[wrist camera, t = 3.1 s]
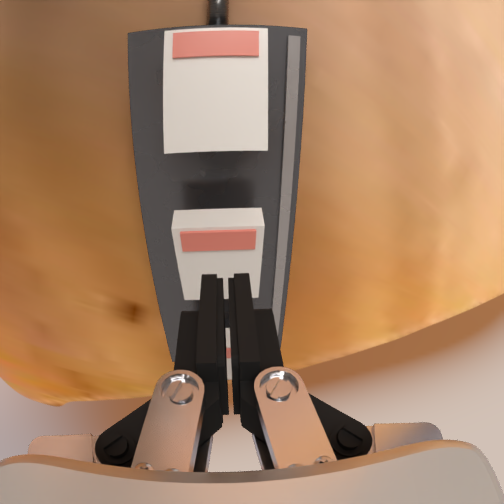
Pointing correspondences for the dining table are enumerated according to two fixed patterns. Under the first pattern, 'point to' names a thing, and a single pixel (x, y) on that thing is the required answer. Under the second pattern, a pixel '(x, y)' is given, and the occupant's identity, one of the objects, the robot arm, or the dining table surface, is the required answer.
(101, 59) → the dining table surface
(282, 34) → the power strip
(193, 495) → the robot arm
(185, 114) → the plate
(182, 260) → the rocker
